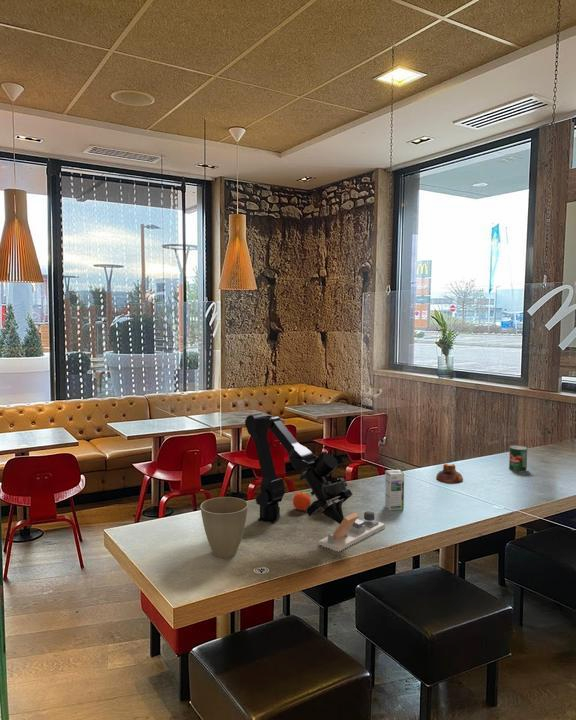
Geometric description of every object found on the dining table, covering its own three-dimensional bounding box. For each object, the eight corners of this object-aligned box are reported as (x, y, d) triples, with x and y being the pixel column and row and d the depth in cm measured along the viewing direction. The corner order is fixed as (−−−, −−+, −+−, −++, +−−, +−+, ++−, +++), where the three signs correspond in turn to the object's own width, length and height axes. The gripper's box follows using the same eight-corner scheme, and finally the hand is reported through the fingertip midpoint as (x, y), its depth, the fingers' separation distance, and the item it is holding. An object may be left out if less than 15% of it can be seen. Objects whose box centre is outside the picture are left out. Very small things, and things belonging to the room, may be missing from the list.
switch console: (319, 545, 187) (319, 533, 187) (366, 522, 207) (366, 511, 207) (338, 552, 182) (338, 540, 182) (384, 528, 202) (385, 517, 201)
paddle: (330, 538, 187) (344, 517, 182) (341, 533, 191) (355, 512, 186) (333, 542, 186) (348, 520, 181) (344, 537, 190) (359, 515, 185)
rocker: (348, 522, 196) (348, 519, 195) (353, 520, 198) (353, 516, 198) (358, 528, 193) (359, 524, 193) (363, 525, 195) (364, 522, 195)
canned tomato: (526, 468, 276) (527, 446, 275) (526, 472, 269) (527, 450, 268) (509, 466, 280) (510, 444, 279) (508, 470, 273) (509, 448, 271)
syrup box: (389, 510, 219) (390, 473, 218) (384, 505, 225) (385, 469, 223) (403, 510, 220) (404, 473, 218) (398, 504, 226) (399, 468, 224)
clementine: (310, 505, 224) (310, 488, 223) (315, 512, 217) (315, 494, 217) (290, 507, 222) (291, 489, 222) (294, 513, 216) (295, 495, 215)
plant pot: (192, 550, 183) (192, 502, 181) (233, 540, 191) (233, 493, 190) (214, 568, 171) (214, 516, 169) (257, 556, 179) (256, 506, 178)
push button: (362, 518, 201) (362, 513, 201) (367, 516, 204) (367, 510, 204) (370, 521, 199) (370, 515, 198) (376, 518, 201) (376, 513, 201)
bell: (431, 480, 258) (432, 464, 257) (443, 474, 267) (443, 459, 266) (456, 485, 251) (456, 469, 250) (467, 479, 260) (467, 463, 259)
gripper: (313, 477, 181) (340, 520, 175) (348, 465, 195) (374, 504, 189) (295, 495, 187) (320, 537, 181) (330, 482, 201) (354, 521, 195)
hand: (343, 524), depth 186 cm, fingers closed, pressing on paddle
